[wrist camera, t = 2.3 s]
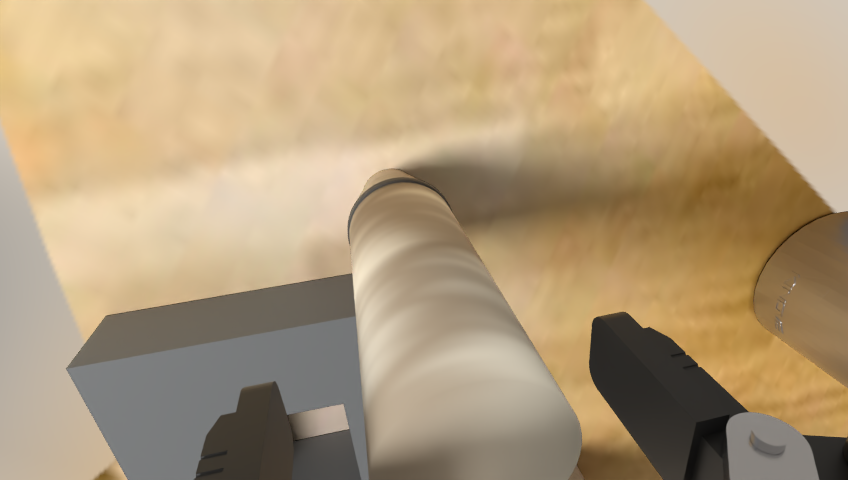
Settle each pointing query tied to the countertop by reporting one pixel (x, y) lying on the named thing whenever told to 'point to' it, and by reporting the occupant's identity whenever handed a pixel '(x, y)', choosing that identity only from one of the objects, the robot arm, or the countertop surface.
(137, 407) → the gray board
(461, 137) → the countertop surface
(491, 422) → the ash peg
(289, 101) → the countertop surface
